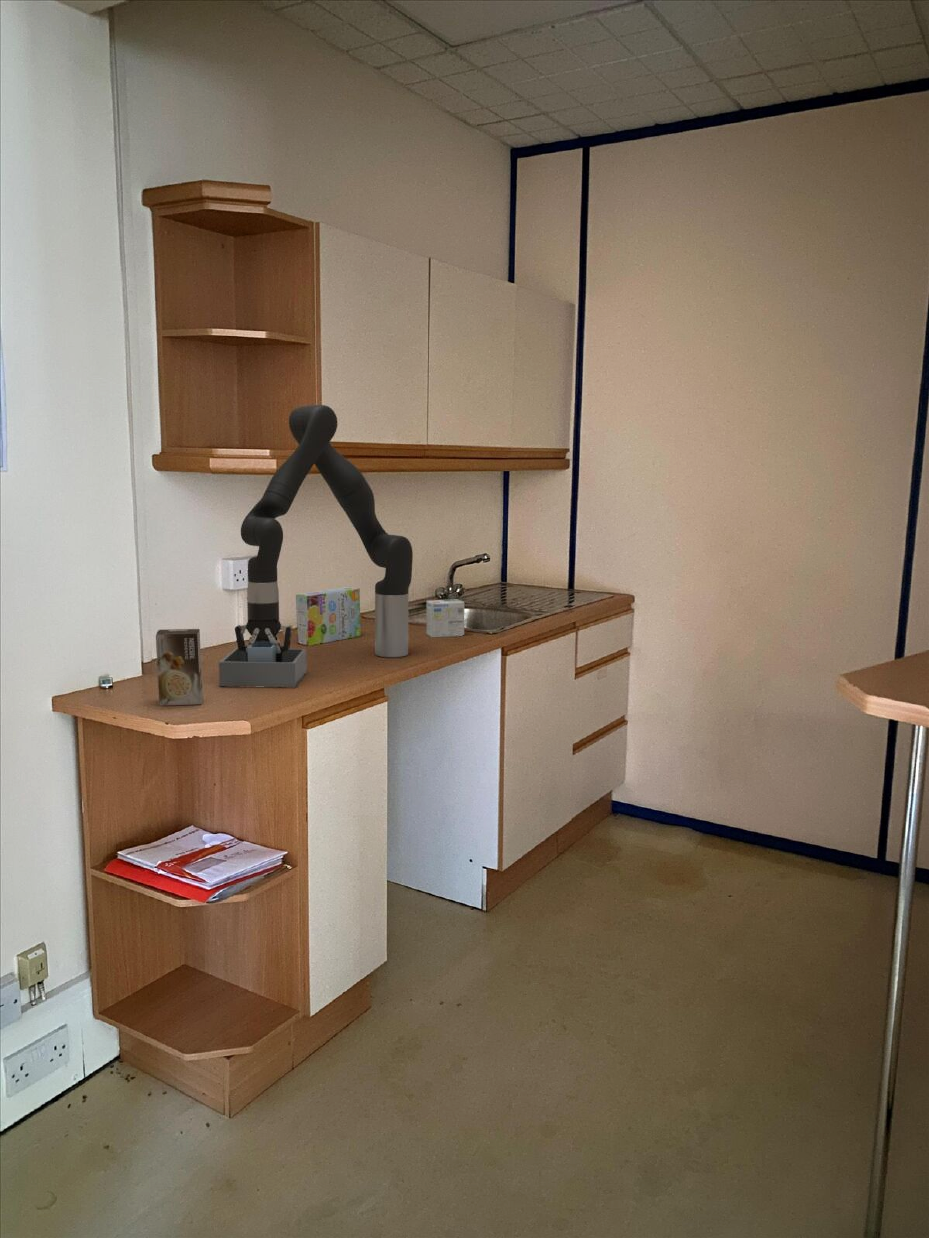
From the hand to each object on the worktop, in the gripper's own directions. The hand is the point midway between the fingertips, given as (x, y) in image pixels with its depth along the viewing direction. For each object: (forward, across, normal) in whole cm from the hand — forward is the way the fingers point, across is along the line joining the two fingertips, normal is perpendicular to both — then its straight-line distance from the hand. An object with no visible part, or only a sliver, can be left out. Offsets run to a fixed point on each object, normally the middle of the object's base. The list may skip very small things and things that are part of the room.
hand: (264, 667), depth 239 cm
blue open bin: (+1, 0, 0) cm, 1 cm away
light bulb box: (+3, -43, -63) cm, 76 cm away
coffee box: (+3, +14, +23) cm, 27 cm away
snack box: (+3, -9, -52) cm, 53 cm away
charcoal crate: (+3, 0, 0) cm, 3 cm away
